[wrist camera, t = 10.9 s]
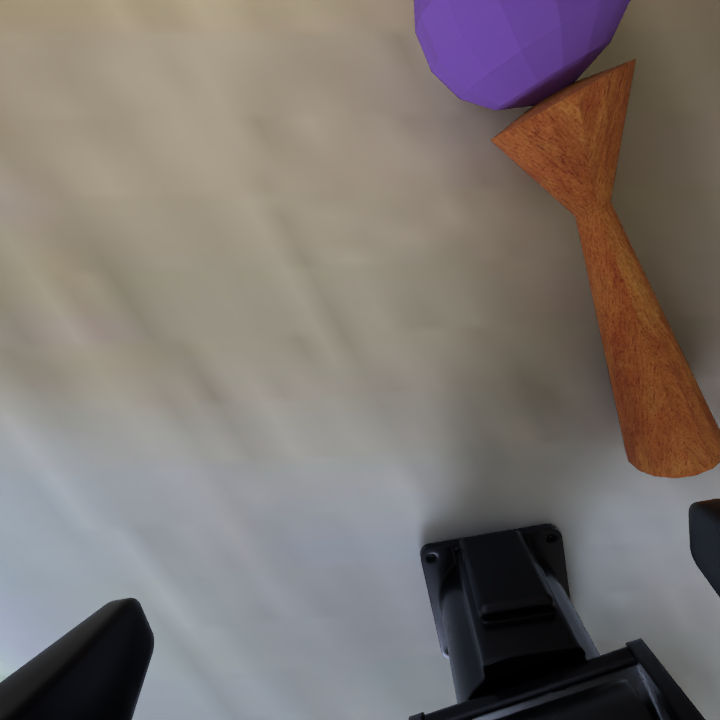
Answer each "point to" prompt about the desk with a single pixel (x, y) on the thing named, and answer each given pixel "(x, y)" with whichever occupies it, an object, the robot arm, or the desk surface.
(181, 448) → the desk surface
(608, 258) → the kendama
